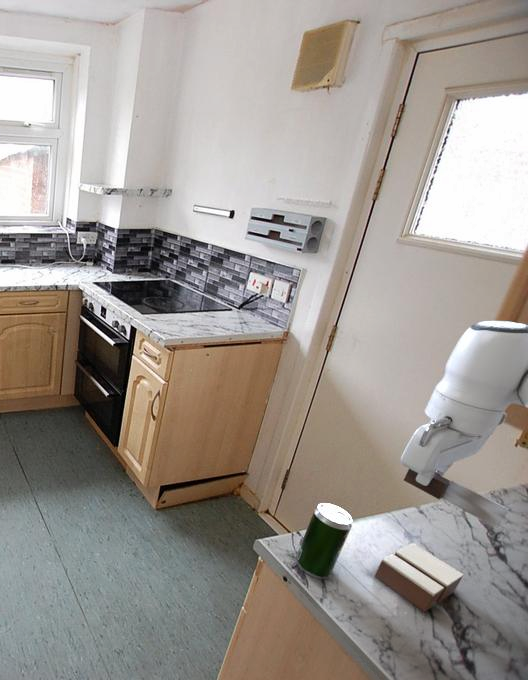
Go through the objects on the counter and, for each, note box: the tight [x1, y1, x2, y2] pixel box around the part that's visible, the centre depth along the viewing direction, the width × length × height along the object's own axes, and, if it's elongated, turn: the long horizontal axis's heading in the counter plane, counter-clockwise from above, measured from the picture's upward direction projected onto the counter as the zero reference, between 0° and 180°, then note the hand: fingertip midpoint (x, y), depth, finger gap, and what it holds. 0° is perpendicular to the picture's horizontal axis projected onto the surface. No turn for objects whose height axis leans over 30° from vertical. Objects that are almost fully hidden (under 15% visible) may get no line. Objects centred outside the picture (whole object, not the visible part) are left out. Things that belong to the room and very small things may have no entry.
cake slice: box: [374, 553, 444, 613], centre depth 77 cm, size 8×3×4 cm, turn 26°
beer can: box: [296, 502, 353, 580], centre depth 79 cm, size 5×5×12 cm
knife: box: [403, 468, 510, 529], centre depth 79 cm, size 13×2×4 cm, turn 25°
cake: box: [394, 542, 464, 604], centre depth 79 cm, size 8×6×4 cm
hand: (427, 480), depth 82 cm, fingers closed on knife, 2 cm apart
